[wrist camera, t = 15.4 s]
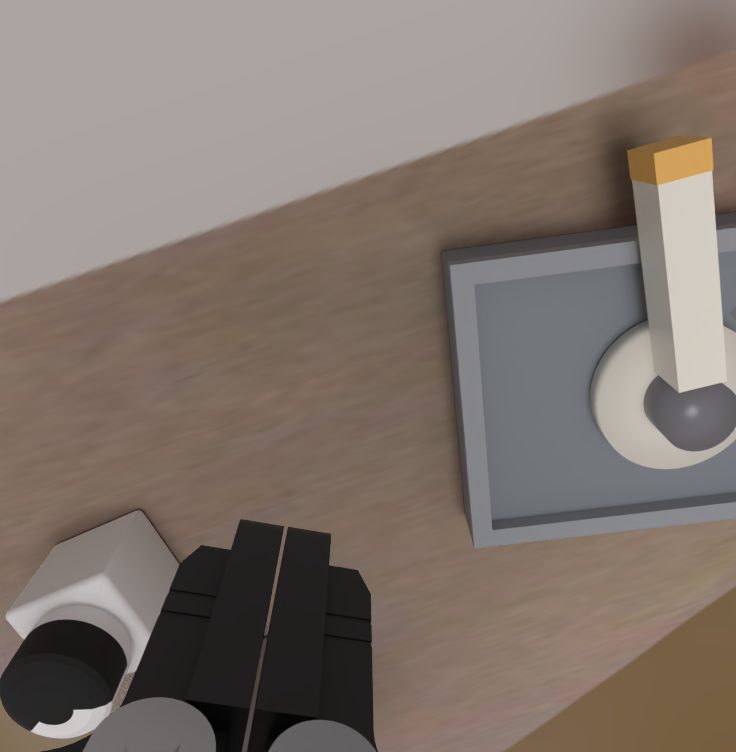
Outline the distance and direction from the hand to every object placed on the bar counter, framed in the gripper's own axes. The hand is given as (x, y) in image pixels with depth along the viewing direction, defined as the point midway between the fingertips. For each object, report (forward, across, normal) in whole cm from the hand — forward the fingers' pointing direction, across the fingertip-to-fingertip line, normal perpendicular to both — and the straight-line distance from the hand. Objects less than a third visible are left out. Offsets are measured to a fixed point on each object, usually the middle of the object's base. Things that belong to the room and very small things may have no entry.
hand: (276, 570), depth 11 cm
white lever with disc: (+26, -18, -1) cm, 32 cm away
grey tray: (+29, -20, +4) cm, 36 cm away
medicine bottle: (+29, +10, +25) cm, 40 cm away
